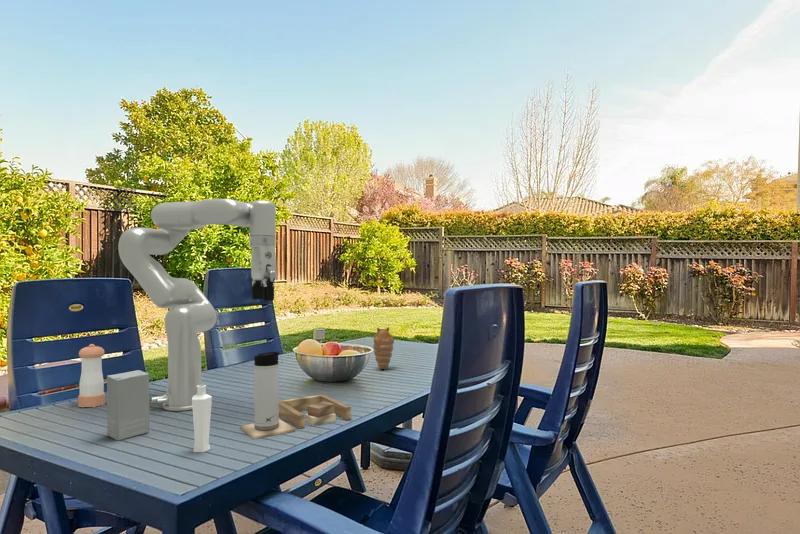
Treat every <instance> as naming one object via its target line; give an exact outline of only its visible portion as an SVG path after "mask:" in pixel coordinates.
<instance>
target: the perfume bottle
mask: <svg viewBox="0 0 800 534" xmlns="http://www.w3.org/2000/svg"><path fill="white" fill-rule="evenodd" d="M206 388H207V385H206V384H201V385H197V394H196V395H195V396H193V397H192V408H193V409H192V419H193V422H192V423H193V435H194V436H193V437H194V446H193V450H192V451H193V453H205V452H207V451H209V450H211V445H210V441H209V440H210V431H211V430H210V428H211V415H212V403H213V396H212V395H210V394H208V393H207V392H206Z"/></svg>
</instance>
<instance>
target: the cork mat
mask: <svg viewBox="0 0 800 534" xmlns="http://www.w3.org/2000/svg"><path fill="white" fill-rule="evenodd" d="M239 428H240V429H241V430H242V431H243V432H245V434H247V435H248V436H249V437H250V438H252V439H253V440H255V439H257V440H258V439H262V438H266V437H272V436H277V435H283V434H287V433H289V434H290V433H294V432H296V428H294V427H293V426H291V425H289V424H288V423H286V422H285V421H284V420H282V419H280V418H279V426H278V427H277V428H276V429H273V430H268V431H260V430H256V429H255V428H254V423H250V424H244V425H243V424H242V425H240V427H239Z"/></svg>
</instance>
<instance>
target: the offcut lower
mask: <svg viewBox="0 0 800 534" xmlns="http://www.w3.org/2000/svg"><path fill="white" fill-rule="evenodd" d="M304 415H305V421H306V422H305V423H307V422H308V423H307V424H309V425H310V424H311V426H312V425H314V426H318V425H317V424H320V425H324V423H326V424H330V423H329V422H331V423H335V422H334V421H336V422H337V415H336V414H335V413H332V414H329V415H326V416H323V417H320V418H318V417H314V416H309V415H308V413H304Z"/></svg>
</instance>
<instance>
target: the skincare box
mask: <svg viewBox="0 0 800 534" xmlns="http://www.w3.org/2000/svg"><path fill="white" fill-rule="evenodd" d="M106 403H107V404H106V407H107V408H106V409H107V410H106V411H107V413H106V415H107V436H108V437H110V438H112V439H114V440H115V441H122V440H126V439H129V438H132V437H136V436H140V435H144V434H148V433H150V374H149V373H148V372H145V371H143V370H140V369H137V370H133V371H127V372H120V373H116V374H110V375H109V374H108V375H106Z"/></svg>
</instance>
